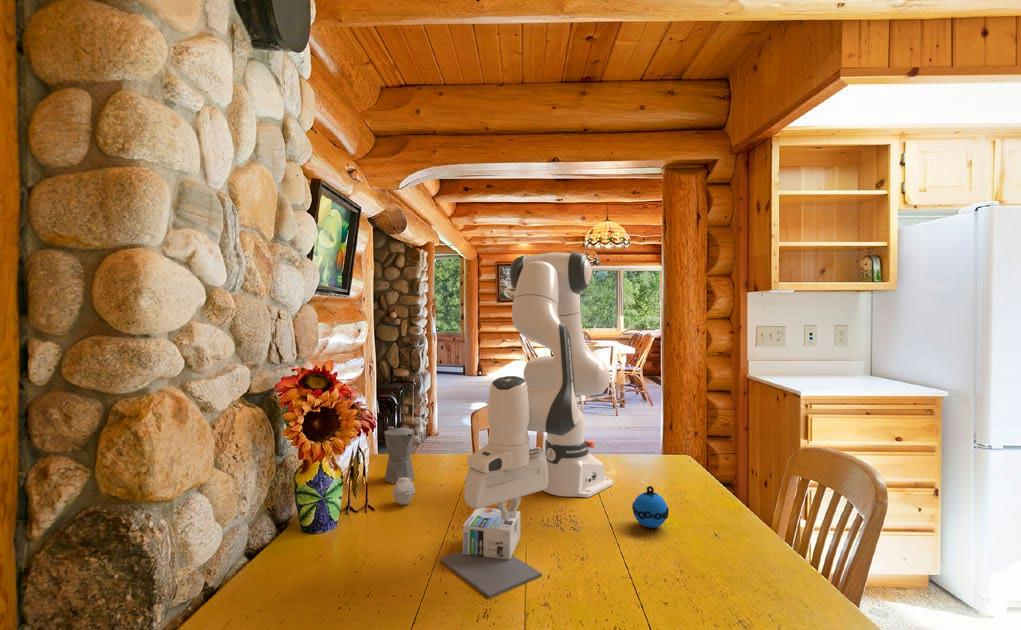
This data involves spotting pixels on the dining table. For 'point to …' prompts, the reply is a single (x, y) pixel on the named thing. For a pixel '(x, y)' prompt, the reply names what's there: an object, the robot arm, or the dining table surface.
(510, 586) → the mat
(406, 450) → the coffeepot
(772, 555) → the dining table surface
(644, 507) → the ornament
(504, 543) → the light bulb box
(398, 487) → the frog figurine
